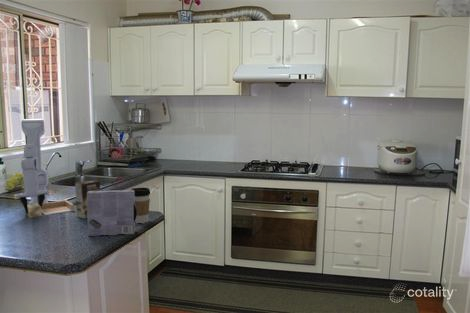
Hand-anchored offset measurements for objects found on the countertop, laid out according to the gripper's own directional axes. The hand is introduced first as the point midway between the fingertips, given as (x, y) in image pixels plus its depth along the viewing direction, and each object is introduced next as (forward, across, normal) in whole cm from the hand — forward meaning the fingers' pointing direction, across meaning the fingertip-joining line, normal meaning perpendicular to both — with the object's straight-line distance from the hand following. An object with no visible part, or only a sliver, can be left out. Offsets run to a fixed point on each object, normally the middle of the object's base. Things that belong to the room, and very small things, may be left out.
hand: (33, 211), depth 193 cm
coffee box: (+2, +20, -18) cm, 27 cm away
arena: (+1, +10, +1) cm, 11 cm away
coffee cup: (+2, +35, -42) cm, 55 cm away
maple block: (+1, 0, 0) cm, 1 cm away
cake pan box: (+2, +19, -50) cm, 54 cm away
